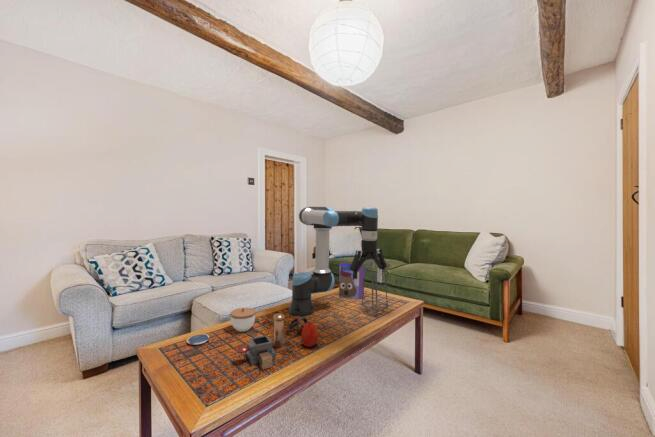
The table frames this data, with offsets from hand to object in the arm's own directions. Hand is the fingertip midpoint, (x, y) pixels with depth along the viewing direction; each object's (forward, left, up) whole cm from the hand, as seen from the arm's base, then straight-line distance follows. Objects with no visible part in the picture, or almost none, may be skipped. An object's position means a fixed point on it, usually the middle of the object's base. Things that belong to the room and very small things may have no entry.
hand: (368, 283), depth 133 cm
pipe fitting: (-15, -39, -28) cm, 51 cm away
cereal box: (-59, +30, -28) cm, 72 cm away
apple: (-9, -26, -28) cm, 40 cm away
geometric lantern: (-29, +27, -28) cm, 49 cm away
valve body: (-9, -52, -28) cm, 60 cm away
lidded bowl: (-40, -50, -28) cm, 70 cm away
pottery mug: (-24, -25, -28) cm, 45 cm away
